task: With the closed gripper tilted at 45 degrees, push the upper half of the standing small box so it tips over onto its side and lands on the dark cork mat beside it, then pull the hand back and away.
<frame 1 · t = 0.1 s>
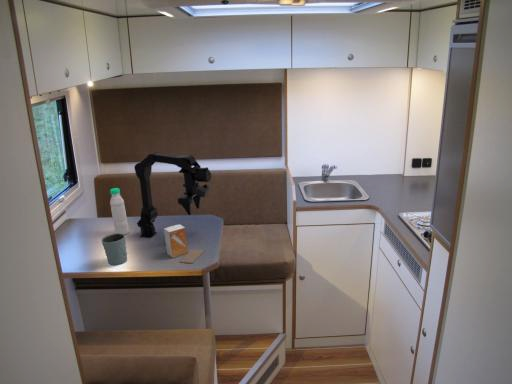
hand: (193, 211, 214), 15 cm above the table, tool pointing down, fingers open, 9 cm apart
water bottle: (122, 233, 233), on the table
green cup: (117, 262, 200), on the table
cork mat: (192, 256, 200), on the table
small box: (177, 253, 204), on the table
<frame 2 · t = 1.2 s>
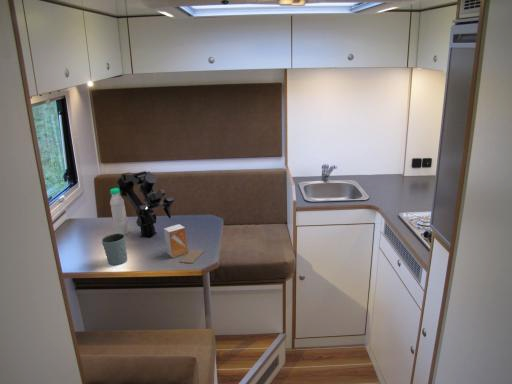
hand: (162, 220, 209), 13 cm above the table, tool tilted 45°, fingers open, 8 cm apart
nothing on the table moved.
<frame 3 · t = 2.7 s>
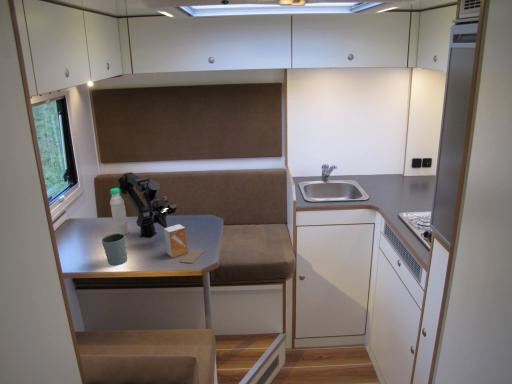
hand: (166, 227, 208), 10 cm above the table, tool tilted 45°, fingers closed
nothing on the table moved.
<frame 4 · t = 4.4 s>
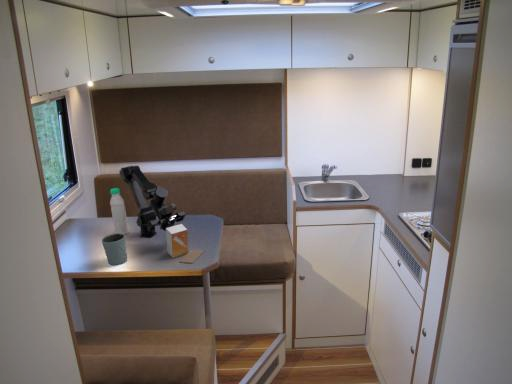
hand: (174, 235, 203), 8 cm above the table, tool tilted 45°, fingers closed
small box: (177, 252, 204), on the table, touching gripper
everything else where it was.
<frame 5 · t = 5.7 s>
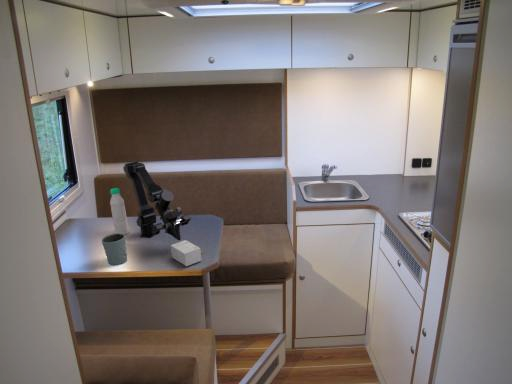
hand: (179, 239, 200), 8 cm above the table, tool tilted 45°, fingers closed
small box: (178, 248, 201), point 4 cm above the table, touching cork mat
everything else where it was.
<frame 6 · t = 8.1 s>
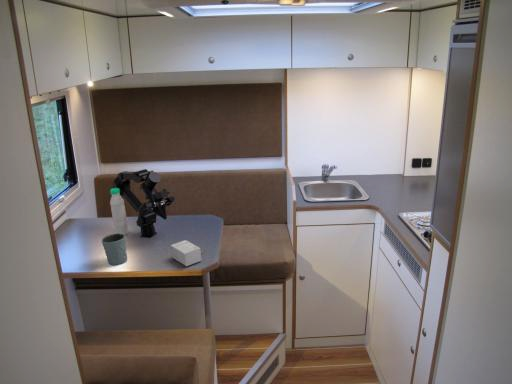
hand: (165, 219, 211), 13 cm above the table, tool tilted 40°, fingers closed
water bottle: (122, 233, 233), on the table, touching arm
everything else where it was.
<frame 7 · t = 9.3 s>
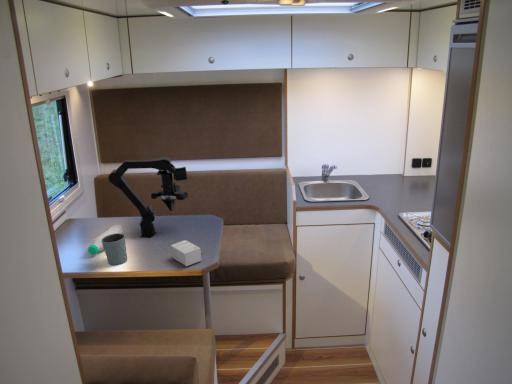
hand: (171, 210, 226), 12 cm above the table, tool pointing down, fingers closed
water bottle: (118, 229, 229), point 4 cm above the table
everything else where it was.
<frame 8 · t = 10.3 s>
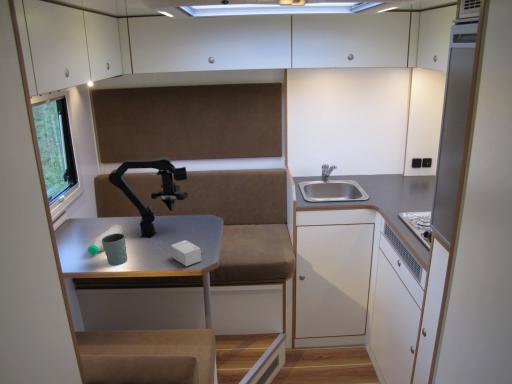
hand: (171, 210, 226), 12 cm above the table, tool pointing down, fingers closed
nothing on the table moved.
at the end: small box tilted 89°; small box inside the target area (4.7 cm from its centre), point 3.6 cm above the table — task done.
